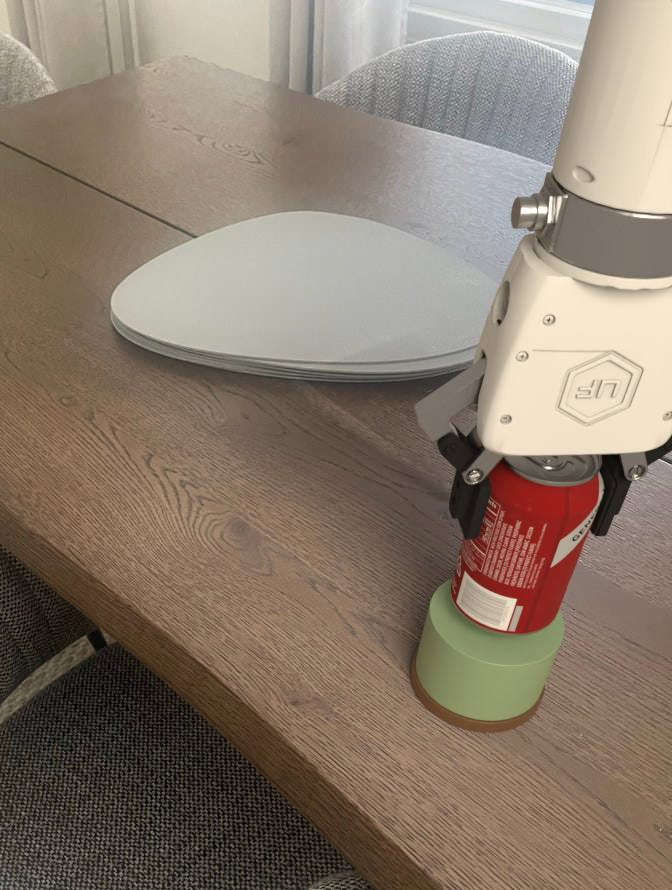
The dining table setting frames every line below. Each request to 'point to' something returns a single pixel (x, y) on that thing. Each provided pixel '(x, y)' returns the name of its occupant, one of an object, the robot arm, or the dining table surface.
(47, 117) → the dining table surface
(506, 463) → the soda can
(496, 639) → the pedestal
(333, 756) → the dining table surface
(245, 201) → the dining table surface
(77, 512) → the dining table surface
